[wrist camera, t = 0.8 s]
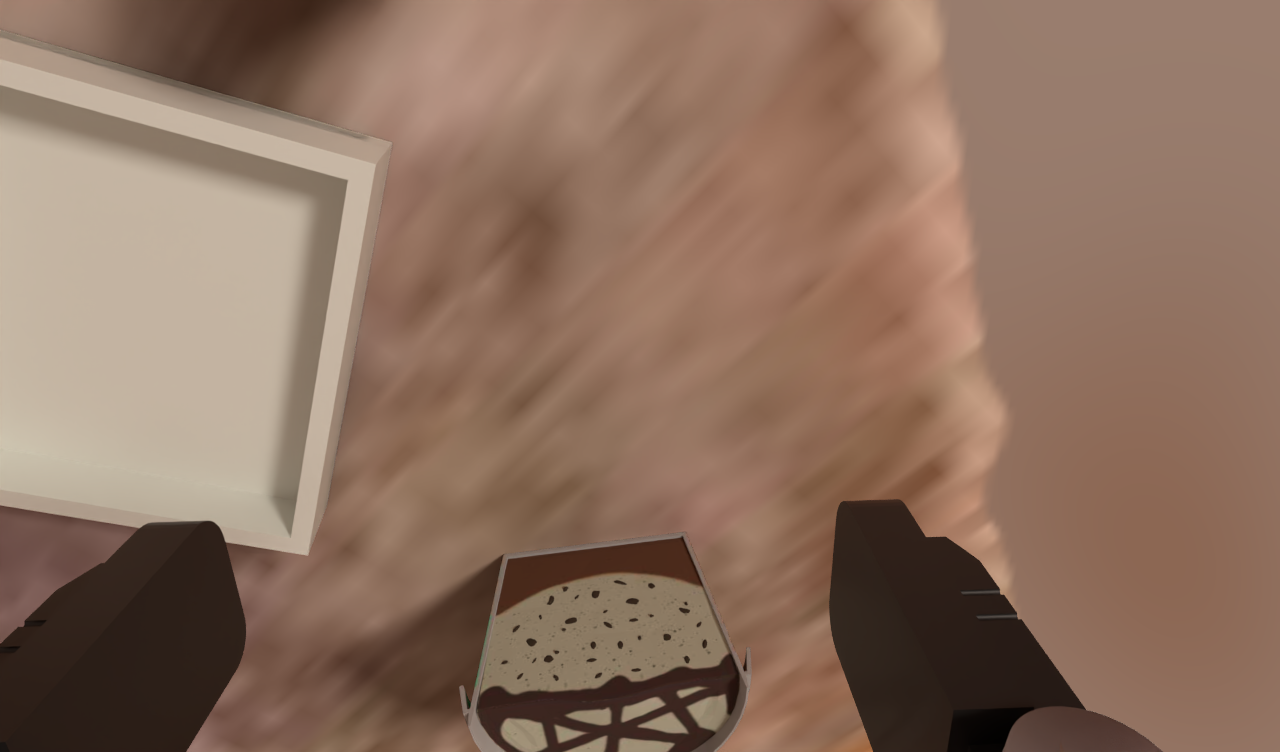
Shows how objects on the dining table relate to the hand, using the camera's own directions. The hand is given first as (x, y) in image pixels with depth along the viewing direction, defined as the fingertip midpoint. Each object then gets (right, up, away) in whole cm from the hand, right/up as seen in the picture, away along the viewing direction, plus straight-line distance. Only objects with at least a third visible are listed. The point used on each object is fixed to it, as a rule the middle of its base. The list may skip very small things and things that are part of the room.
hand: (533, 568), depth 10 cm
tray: (-18, +6, +22) cm, 29 cm away
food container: (-1, -9, +32) cm, 33 cm away
